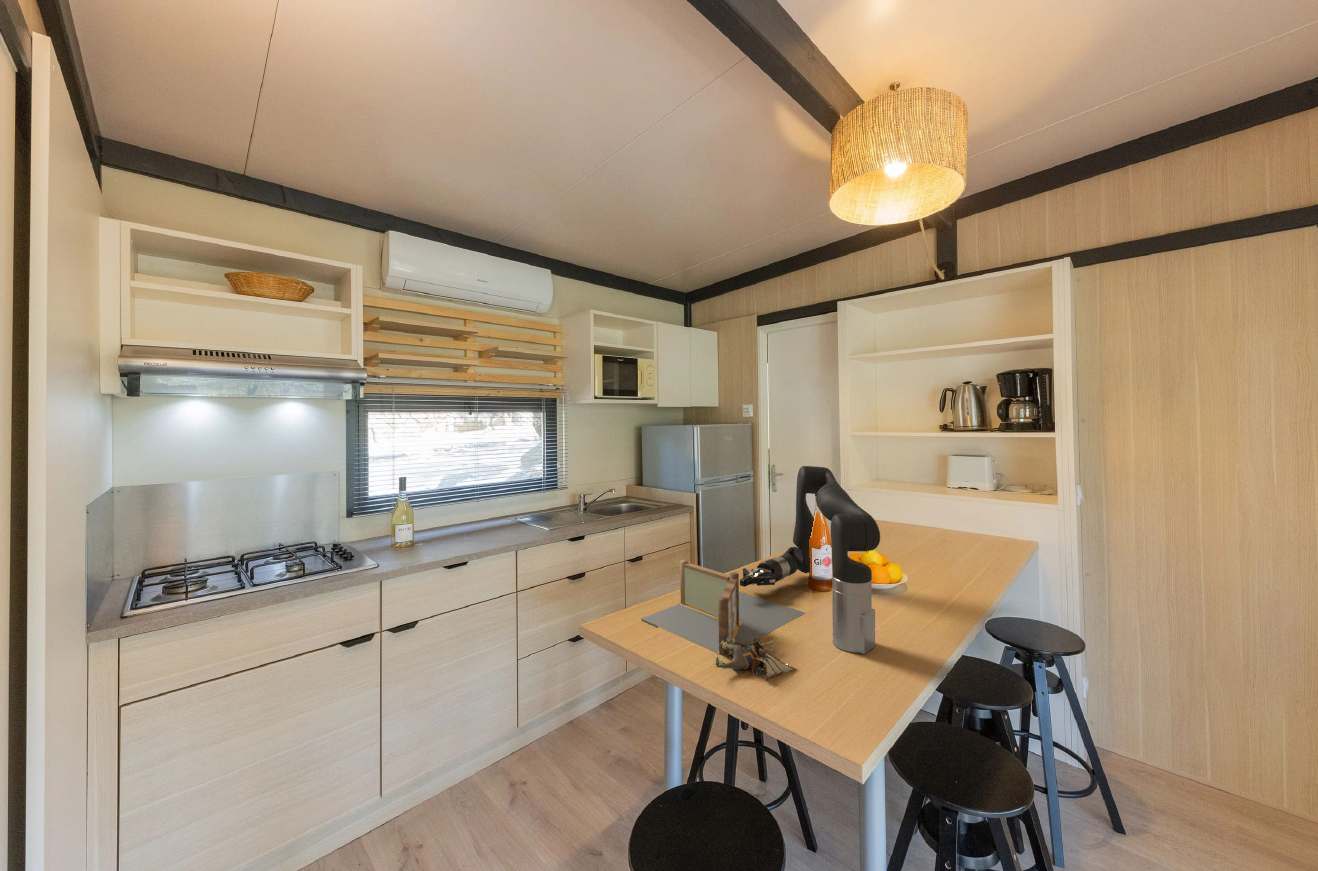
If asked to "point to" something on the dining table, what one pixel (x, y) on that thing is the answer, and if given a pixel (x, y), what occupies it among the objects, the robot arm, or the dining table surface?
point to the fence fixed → (728, 611)
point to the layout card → (704, 627)
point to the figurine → (753, 658)
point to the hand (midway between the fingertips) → (741, 583)
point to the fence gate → (701, 587)
